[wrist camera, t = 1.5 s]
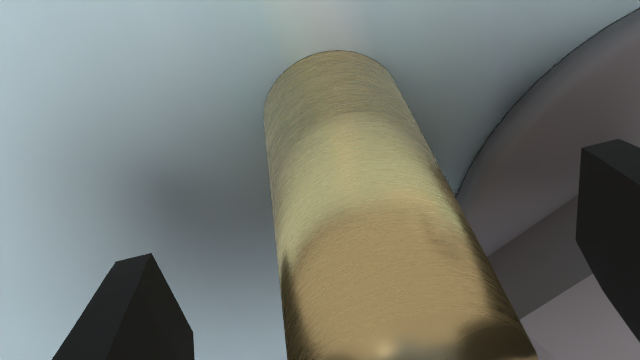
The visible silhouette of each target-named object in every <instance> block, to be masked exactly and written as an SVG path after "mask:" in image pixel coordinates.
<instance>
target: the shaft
mask: <svg viewBox="0 0 640 360" xmlns="http://www.w3.org/2000/svg"><path fill="white" fill-rule="evenodd" d="M263 118H264V129H265V139H266V149H267V159H268V169H269V179H270V189H271V199H272V209H273V219H274V229H275V240H276V250H277V260H278V270H279V280H280V290H281V300H282V310H283V320H284V330H285V340H286V350H287V360H539V359H538V356H537V353H536V350H535V348H534V347H533V345H532V343H531V341H530V339H529V337H528V335H527V333H526V331H525V329H524V327H523V326H522V324H521V322H520V320H519V318H518V316H517V314H516V312H515V310H514V308H513V306H512V304H511V303H510V301H509V299H508V297H507V295H506V293H505V291H504V289H503V287H502V285H501V283H500V282H499V280H498V278H497V276H496V274H495V272H494V270H493V268H492V266H491V264H490V262H489V261H488V259H487V257H486V255H485V253H484V251H483V249H482V247H481V245H480V243H479V241H478V239H477V238H476V236H475V234H474V232H473V230H472V228H471V226H470V224H469V222H468V220H467V218H466V217H465V215H464V213H463V211H462V209H461V207H460V205H459V203H458V201H457V199H456V197H455V195H454V194H453V192H452V190H451V188H450V186H449V184H448V182H447V180H446V178H445V176H444V174H443V173H442V171H441V169H440V167H439V165H438V163H437V161H436V159H435V157H434V155H433V153H432V152H431V150H430V148H429V146H428V144H427V142H426V140H425V138H424V136H423V134H422V132H421V130H420V129H419V127H418V125H417V123H416V121H415V119H414V117H413V115H412V113H411V111H410V109H409V108H408V106H407V104H406V102H405V100H404V98H403V96H402V94H401V92H400V90H399V88H398V86H397V85H396V83H395V81H394V79H393V78H392V76H391V75H390V74H389V72H388V71H387V70H386V69H385V68H384V67H383V66H381V65H380V64H379V63H377V62H376V61H374V60H373V59H371V58H369V57H367V56H364V55H361V54H358V53H354V52H349V51H327V52H322V53H318V54H314V55H311V56H309V57H306V58H304V59H302V60H300V61H298V62H297V63H295V64H294V65H292V66H291V67H290V68H288V69H287V70H286V71H285V72H284V73H283V74H282V75H281V76H280V77H279V78H278V79H277V81H276V82H275V83H274V85H273V86H272V88H271V90H270V92H269V94H268V97H267V99H266V103H265V107H264V117H263Z"/></svg>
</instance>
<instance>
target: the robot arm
mask: <svg viewBox="0 0 640 360" xmlns="http://www.w3.org/2000/svg"><path fill="white" fill-rule="evenodd" d="M575 240H576V242H577V244H578V246H579V248H580V250H581V252H582V254H583V256H584V257H585V259H586V261H587V263H588V265H589V267H590V269H591V271H592V273H593V274H594V276H595V278H596V280H597V281H598V283H599V285H600V287H601V289H602V290H603V292H604V293H605V295H606V296H607V298H608V299H609V301H610V302H611V304H612V305H613V306H614V308H615V309H616V311H617V312H618V313H619V315H620V316H621V317H622V319H623V320H624V322H625V323H626V324H627V326H628V327H629V329H630V330H631V331H632V333H633V334H634V336H635V337H636V338H637V340H638V341H639V342H640V148H639V147H637V146H635V145H632V144H630V143H628V142H625V141H623V140H620V139H615V140H611V141H607V142H603V143H599V144H595V145H591V146H587V147H583V148H581V160H580V176H579V191H578V207H577V222H576V238H575ZM52 360H194V341H193V331H192V329H191V327H190V326H189V324H188V322H187V320H186V318H185V316H184V314H183V312H182V310H181V308H180V306H179V305H178V303H177V301H176V299H175V297H174V295H173V293H172V291H171V289H170V287H169V285H168V284H167V282H166V280H165V278H164V276H163V274H162V272H161V270H160V268H159V266H158V265H157V263H156V261H155V259H154V257H153V255H152V253H150V254H146V255H141V256H137V257H133V258H129V259H125V260H121V261H117V262H115V264H114V265H113V267H112V268H111V270H110V271H109V273H108V274H107V276H106V277H105V279H104V280H103V282H102V283H101V285H100V287H99V288H98V290H97V291H96V293H95V294H94V296H93V297H92V299H91V301H90V302H89V304H88V305H87V307H86V308H85V310H84V312H83V313H82V315H81V316H80V318H79V319H78V321H77V322H76V324H75V326H74V327H73V329H72V330H71V332H70V333H69V335H68V336H67V338H66V339H65V341H64V342H63V344H62V345H61V347H60V348H59V350H58V351H57V353H56V354H55V356H54V357H53V359H52Z"/></svg>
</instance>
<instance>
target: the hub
mask: <svg viewBox="0 0 640 360" xmlns="http://www.w3.org/2000/svg"><path fill="white" fill-rule="evenodd" d="M615 139H620V140H623V141H625V142H628V143H630V144H632V145H635V146H637V147H639V148H640V9H638V10H637V11H635V12H633V13H631V14H629V15H628V16H626V17H624V18H622V19H620V20H619V21H617V22H615V23H613V24H612V25H610V26H608V27H607V28H605V29H604V30H602V31H601V32H599V33H598V34H597V35H595V36H594V37H592V38H591V39H589V40H588V41H587V42H585V43H584V44H582V45H581V46H579V47H578V48H576V49H575V50H574V51H572V52H571V53H570V54H569V55H567V56H566V57H565V58H564V59H563V60H562V61H560V62H559V63H558V64H557V65H556V66H554V67H553V68H552V69H551V70H550V71H549V72H547V73H546V74H545V75H544V76H543V77H542V78H540V79H539V80H538V81H537V82H536V83H535V84H534V85H533V86H532V87H531V88H530V90H529V91H528V92H527V93H526V94H525V95H524V96H523V97H522V98H521V99H520V100H519V101H518V102H517V103H516V104H515V105H514V106H513V107H512V108H511V109H510V111H509V112H508V113H507V114H506V116H505V117H504V118H503V120H502V121H501V122H500V123H499V125H498V126H497V127H496V128H495V130H494V131H493V132H492V134H491V135H490V136H489V137H488V139H487V140H486V142H485V144H484V145H483V147H482V148H481V150H480V152H479V153H478V155H477V157H476V158H475V160H474V161H473V163H472V165H471V166H470V168H469V170H468V172H467V174H466V177H465V179H464V181H463V183H462V185H461V187H460V190H459V192H458V194H457V196H456V199H457V201H458V203H459V205H460V207H461V209H462V211H463V213H464V215H465V217H466V218H467V220H468V222H469V224H470V226H471V228H472V230H473V232H474V234H475V236H476V238H477V239H478V241H479V243H480V245H481V247H482V249H483V251H484V253H485V255H486V257H487V259H488V261H489V262H490V264H491V266H492V268H493V270H494V272H495V274H496V276H497V278H498V280H499V282H500V283H501V285H502V287H503V289H504V291H505V293H506V295H507V297H508V299H509V301H510V303H511V304H512V306H513V308H514V310H515V312H516V314H517V316H518V318H519V320H520V322H521V324H522V326H523V327H524V329H525V331H526V333H527V335H528V337H529V339H530V341H531V343H532V345H533V347H534V348H535V350H536V353H537V356H538V359H539V360H640V342H639V341H638V340H637V338H636V337H635V336H634V334H633V333H632V331H631V330H630V329H629V327H628V326H627V324H626V323H625V322H624V320H623V319H622V317H621V316H620V315H619V313H618V312H617V311H616V309H615V308H614V306H613V305H612V304H611V302H610V301H609V299H608V298H607V296H606V295H605V293H604V292H603V290H602V289H601V287H600V285H599V283H598V281H597V280H596V278H595V276H594V274H593V273H592V271H591V269H590V267H589V265H588V263H587V261H586V259H585V257H584V256H583V254H582V252H581V250H580V248H579V246H578V244H577V242H576V240H575V238H576V222H577V207H578V191H579V176H580V160H581V148H583V147H587V146H591V145H595V144H599V143H603V142H607V141H611V140H615Z"/></svg>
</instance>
